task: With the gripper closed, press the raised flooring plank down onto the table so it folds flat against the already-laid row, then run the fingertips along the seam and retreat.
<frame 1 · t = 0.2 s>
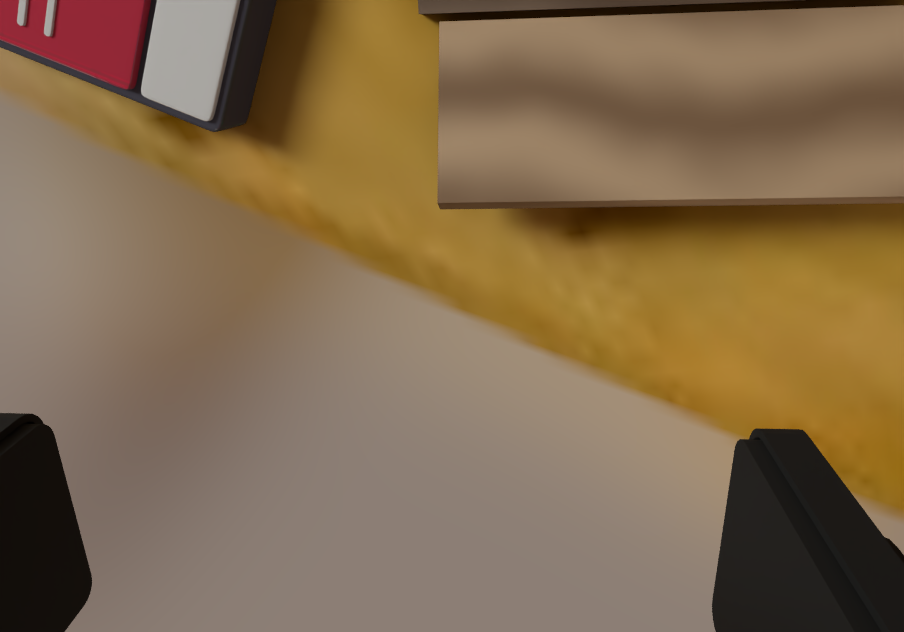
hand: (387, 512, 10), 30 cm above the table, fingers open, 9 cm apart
plank: (669, 107, 33), point 3 cm above the table, hinge at 28.0°
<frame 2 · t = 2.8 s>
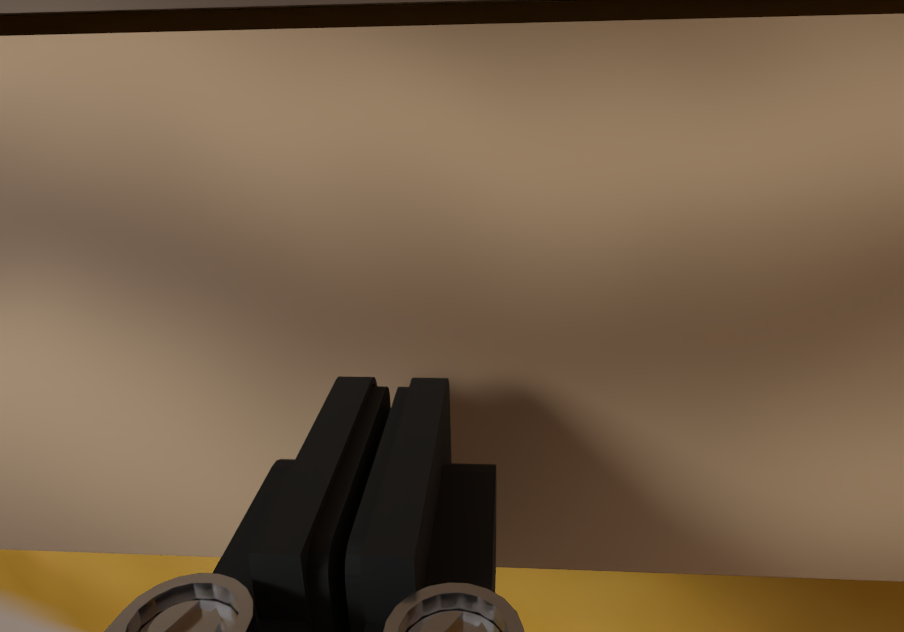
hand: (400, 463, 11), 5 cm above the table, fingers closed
plank: (413, 280, 12), point 3 cm above the table, hinge at 28.0°, touching gripper
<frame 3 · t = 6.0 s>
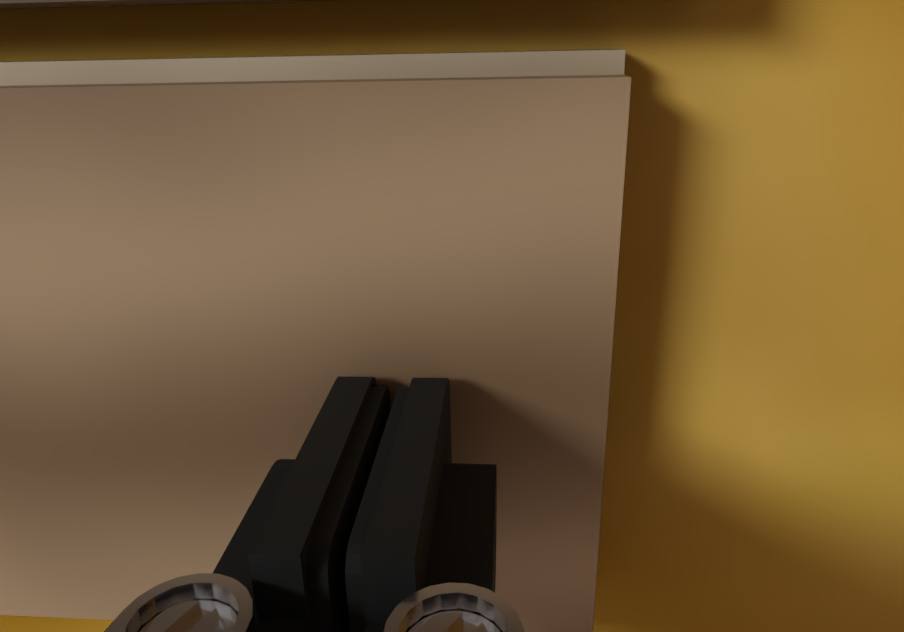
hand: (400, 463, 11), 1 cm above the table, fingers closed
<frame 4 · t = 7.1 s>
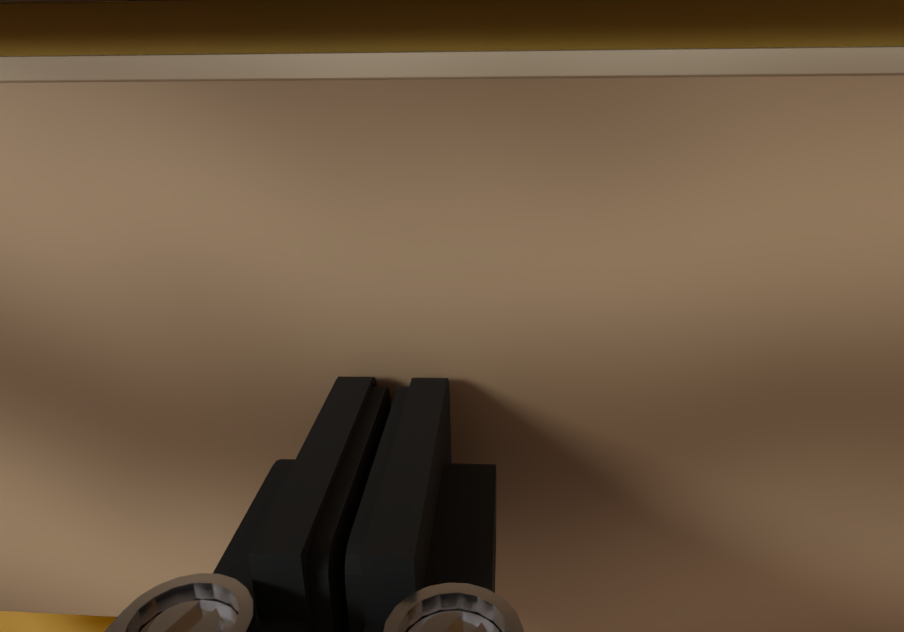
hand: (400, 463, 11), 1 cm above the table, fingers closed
plank: (249, 369, 11), point 1 cm above the table, hinge at -0.1°
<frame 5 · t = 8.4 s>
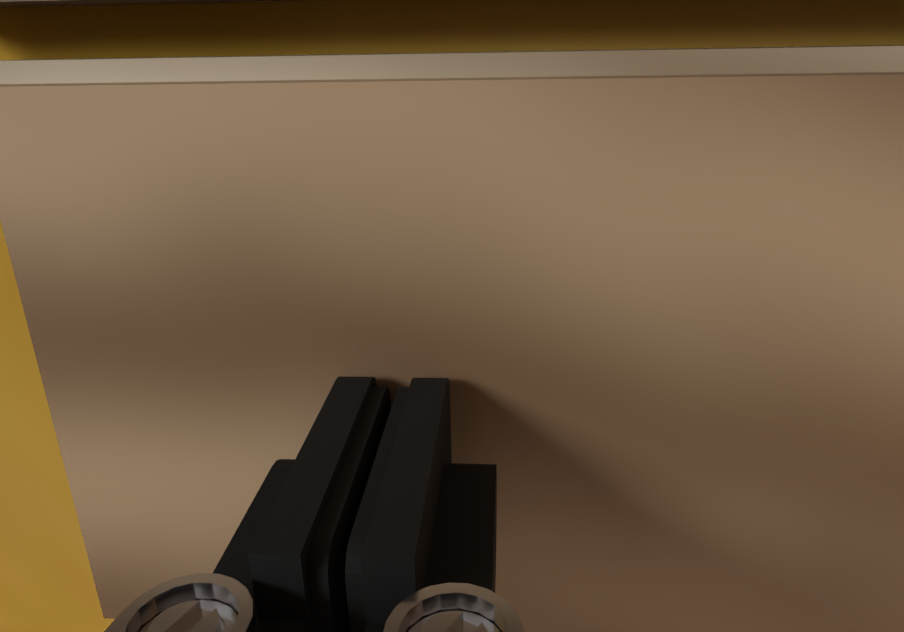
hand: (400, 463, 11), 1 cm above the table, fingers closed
plank: (769, 380, 10), point 1 cm above the table, hinge at -0.1°, touching gripper
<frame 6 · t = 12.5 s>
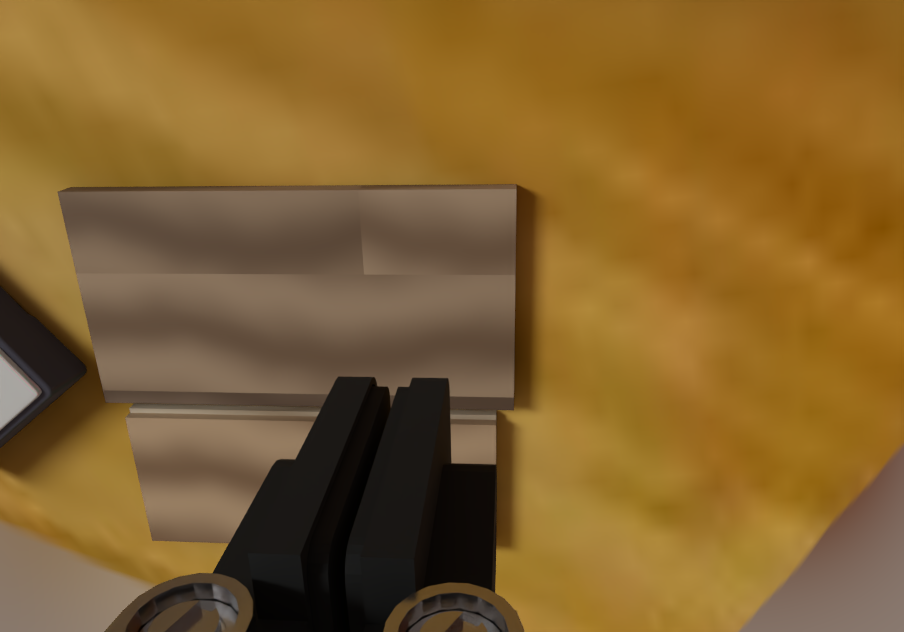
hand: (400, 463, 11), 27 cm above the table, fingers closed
laid row: (303, 334, 40), on the table
plank: (316, 478, 43), point 1 cm above the table, hinge at -0.1°
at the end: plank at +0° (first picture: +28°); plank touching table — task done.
